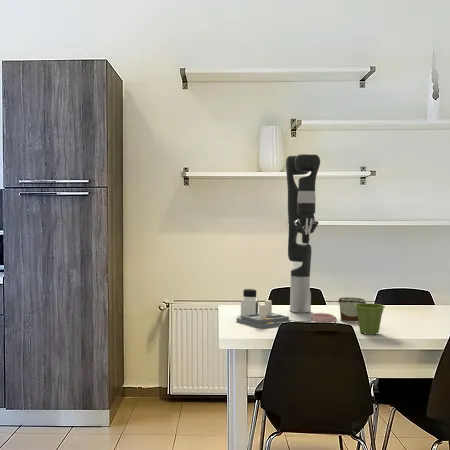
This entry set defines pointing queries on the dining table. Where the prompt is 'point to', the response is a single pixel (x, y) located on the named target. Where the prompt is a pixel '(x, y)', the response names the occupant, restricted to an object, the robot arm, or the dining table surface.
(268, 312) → the tab
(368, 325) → the plant pot
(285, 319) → the dark gray tray
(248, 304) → the medicine bottle
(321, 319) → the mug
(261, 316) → the tab
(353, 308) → the food container
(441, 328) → the dining table surface
